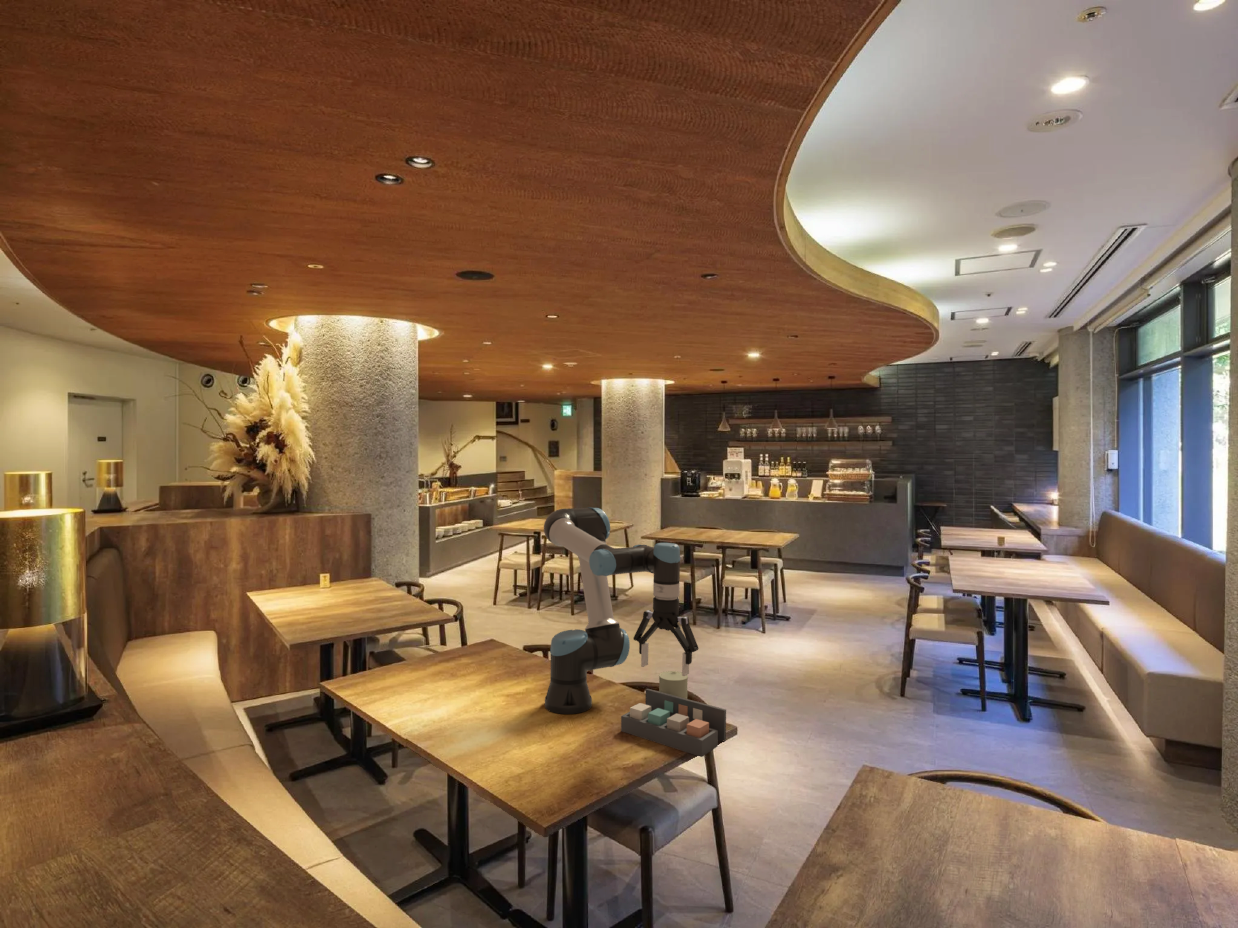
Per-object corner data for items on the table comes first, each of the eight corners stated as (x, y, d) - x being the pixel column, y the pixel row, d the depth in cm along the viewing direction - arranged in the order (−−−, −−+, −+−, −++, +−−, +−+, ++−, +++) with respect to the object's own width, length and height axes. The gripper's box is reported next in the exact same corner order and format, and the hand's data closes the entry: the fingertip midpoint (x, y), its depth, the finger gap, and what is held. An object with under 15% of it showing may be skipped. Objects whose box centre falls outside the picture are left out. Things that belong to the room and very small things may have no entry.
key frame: (621, 730, 201) (621, 715, 201) (638, 721, 207) (638, 707, 207) (701, 756, 184) (702, 740, 184) (717, 746, 191) (717, 730, 191)
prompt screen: (644, 718, 210) (645, 689, 210) (647, 717, 211) (647, 688, 211) (723, 742, 194) (724, 710, 193) (725, 740, 195) (726, 709, 194)
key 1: (629, 721, 201) (629, 707, 201) (639, 716, 205) (639, 702, 205) (641, 724, 198) (641, 710, 198) (651, 719, 202) (651, 706, 202)
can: (687, 707, 220) (688, 670, 220) (687, 718, 211) (688, 679, 211) (658, 705, 221) (659, 668, 221) (657, 716, 212) (658, 678, 212)
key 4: (686, 738, 189) (686, 724, 189) (695, 732, 193) (696, 718, 193) (699, 742, 187) (699, 728, 186) (708, 736, 190) (709, 722, 190)
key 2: (647, 726, 197) (648, 712, 197) (657, 721, 201) (657, 707, 201) (660, 730, 194) (660, 716, 194) (669, 724, 198) (669, 711, 198)
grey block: (666, 732, 193) (667, 718, 193) (676, 726, 197) (676, 713, 197) (679, 736, 190) (679, 722, 190) (688, 730, 194) (689, 716, 194)
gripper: (622, 593, 201) (621, 665, 202) (699, 605, 187) (697, 682, 188) (636, 589, 208) (635, 658, 208) (711, 600, 194) (709, 675, 194)
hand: (664, 670), depth 198 cm, fingers open, 13 cm apart
